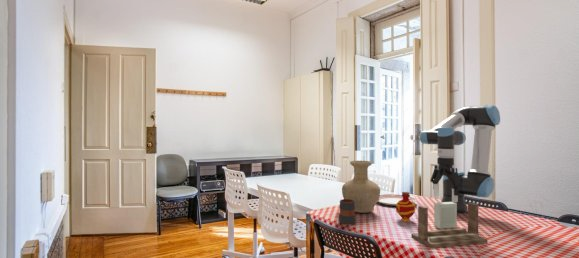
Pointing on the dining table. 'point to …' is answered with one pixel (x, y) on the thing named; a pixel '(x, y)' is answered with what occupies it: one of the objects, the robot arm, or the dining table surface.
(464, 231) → the wooden rack
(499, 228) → the dining table surface
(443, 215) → the cream rectangular block
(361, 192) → the vase
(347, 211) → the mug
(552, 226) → the dining table surface
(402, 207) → the potion bottle
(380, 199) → the dinner plate
